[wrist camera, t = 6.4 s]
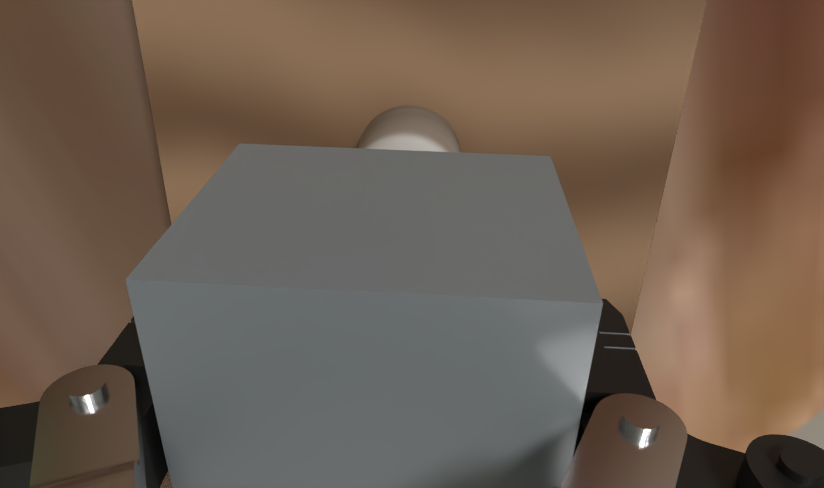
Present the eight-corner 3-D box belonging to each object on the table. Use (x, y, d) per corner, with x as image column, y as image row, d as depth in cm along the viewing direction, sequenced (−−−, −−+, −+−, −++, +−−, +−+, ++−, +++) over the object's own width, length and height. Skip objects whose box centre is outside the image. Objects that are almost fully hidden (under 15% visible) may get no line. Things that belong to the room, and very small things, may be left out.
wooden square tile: (126, -148, 18) (-69, -166, 11) (720, -134, 17) (888, -145, 11) (203, 327, 26) (116, 483, 19) (615, 349, 25) (674, 517, 18)
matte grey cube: (239, 143, 13) (125, 279, 8) (550, 155, 12) (603, 303, 8) (266, 382, 16) (191, 577, 11) (518, 396, 15) (545, 600, 11)
